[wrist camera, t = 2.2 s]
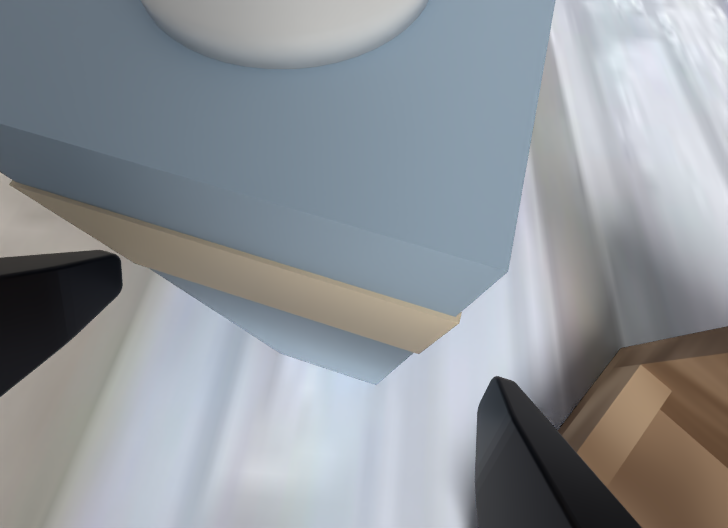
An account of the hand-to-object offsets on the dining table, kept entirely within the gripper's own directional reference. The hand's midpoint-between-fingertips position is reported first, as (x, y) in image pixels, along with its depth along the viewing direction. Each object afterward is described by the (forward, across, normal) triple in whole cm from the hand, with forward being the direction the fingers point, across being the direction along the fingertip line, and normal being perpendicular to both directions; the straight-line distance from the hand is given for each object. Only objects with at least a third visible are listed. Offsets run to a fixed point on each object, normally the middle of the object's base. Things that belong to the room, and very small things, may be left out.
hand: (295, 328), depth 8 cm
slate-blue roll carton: (+9, 0, +5) cm, 10 cm away
